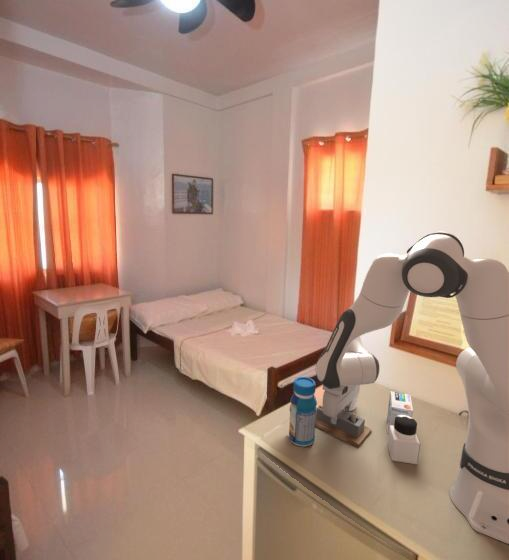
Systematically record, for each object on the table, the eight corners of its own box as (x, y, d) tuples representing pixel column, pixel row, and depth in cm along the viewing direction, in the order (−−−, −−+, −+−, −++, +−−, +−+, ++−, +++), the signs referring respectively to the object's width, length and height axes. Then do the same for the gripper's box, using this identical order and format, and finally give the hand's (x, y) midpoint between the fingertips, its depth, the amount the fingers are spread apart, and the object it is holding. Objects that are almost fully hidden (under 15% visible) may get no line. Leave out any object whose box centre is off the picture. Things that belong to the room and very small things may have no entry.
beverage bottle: (305, 451, 100) (309, 391, 96) (283, 439, 106) (285, 381, 102) (319, 438, 107) (323, 381, 103) (297, 426, 112) (300, 372, 108)
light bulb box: (386, 417, 118) (389, 390, 116) (407, 422, 116) (410, 394, 114) (387, 436, 108) (390, 406, 106) (409, 441, 106) (413, 411, 104)
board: (371, 432, 110) (373, 412, 109) (358, 447, 103) (360, 427, 101) (323, 410, 121) (324, 392, 120) (308, 423, 114) (309, 404, 113)
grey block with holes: (363, 430, 109) (365, 417, 108) (357, 437, 105) (358, 425, 104) (323, 412, 118) (324, 400, 118) (316, 418, 115) (316, 406, 114)
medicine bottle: (417, 465, 96) (422, 428, 94) (391, 461, 97) (395, 424, 95) (411, 448, 103) (415, 413, 100) (387, 444, 104) (391, 410, 102)
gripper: (348, 365, 118) (346, 400, 121) (319, 386, 103) (317, 426, 106) (366, 370, 114) (362, 406, 117) (338, 394, 99) (335, 435, 102)
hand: (340, 416), depth 111 cm, fingers open, 8 cm apart
